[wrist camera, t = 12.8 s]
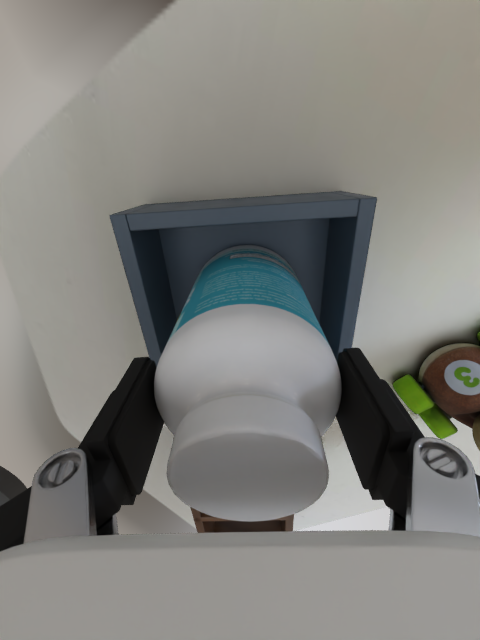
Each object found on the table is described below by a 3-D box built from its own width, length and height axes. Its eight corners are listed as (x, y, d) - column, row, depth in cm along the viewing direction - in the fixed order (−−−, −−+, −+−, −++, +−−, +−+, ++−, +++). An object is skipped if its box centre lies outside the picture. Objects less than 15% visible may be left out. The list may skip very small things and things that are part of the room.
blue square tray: (178, 360, 23) (162, 404, 19) (144, 204, 17) (108, 215, 13) (323, 354, 23) (343, 398, 18) (341, 190, 17) (378, 197, 12)
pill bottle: (182, 254, 18) (60, 407, 6) (291, 231, 17) (391, 358, 5) (211, 343, 22) (168, 550, 10) (302, 328, 21) (378, 535, 9)
